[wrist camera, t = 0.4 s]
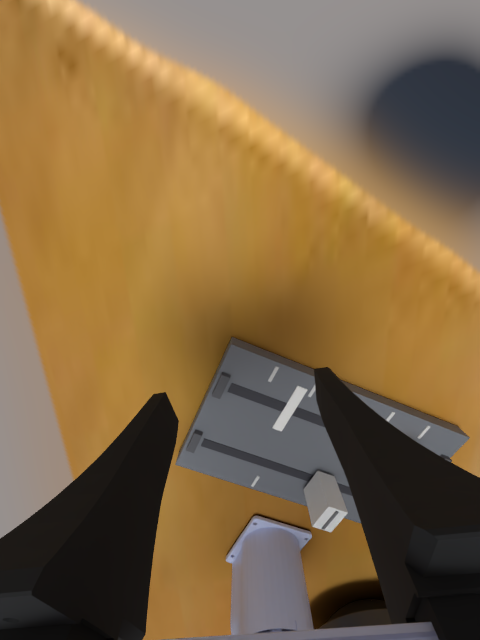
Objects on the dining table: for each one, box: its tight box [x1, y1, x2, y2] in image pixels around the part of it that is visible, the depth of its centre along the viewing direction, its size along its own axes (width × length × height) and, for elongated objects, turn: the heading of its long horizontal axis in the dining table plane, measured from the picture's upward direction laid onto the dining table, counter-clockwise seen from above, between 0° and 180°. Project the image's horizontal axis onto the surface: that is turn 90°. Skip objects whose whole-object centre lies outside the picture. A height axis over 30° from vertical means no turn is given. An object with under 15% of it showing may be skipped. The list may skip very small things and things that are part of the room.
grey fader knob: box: [304, 471, 348, 532], centre depth 24 cm, size 3×2×4 cm, turn 157°
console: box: [176, 337, 470, 523], centre depth 26 cm, size 15×25×2 cm, turn 67°
